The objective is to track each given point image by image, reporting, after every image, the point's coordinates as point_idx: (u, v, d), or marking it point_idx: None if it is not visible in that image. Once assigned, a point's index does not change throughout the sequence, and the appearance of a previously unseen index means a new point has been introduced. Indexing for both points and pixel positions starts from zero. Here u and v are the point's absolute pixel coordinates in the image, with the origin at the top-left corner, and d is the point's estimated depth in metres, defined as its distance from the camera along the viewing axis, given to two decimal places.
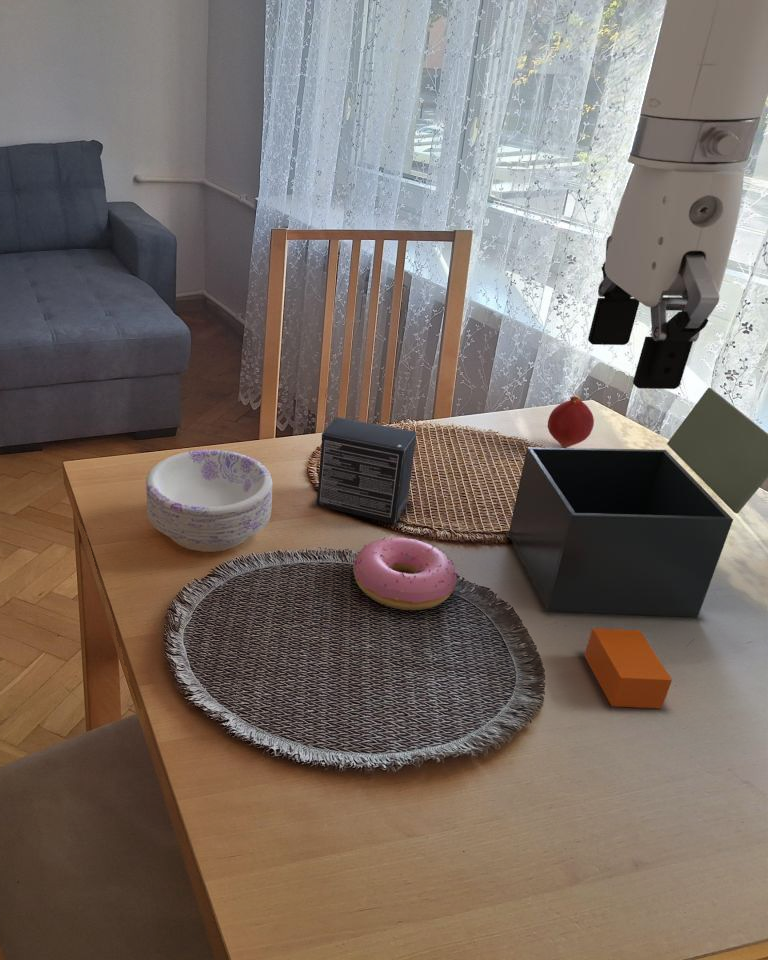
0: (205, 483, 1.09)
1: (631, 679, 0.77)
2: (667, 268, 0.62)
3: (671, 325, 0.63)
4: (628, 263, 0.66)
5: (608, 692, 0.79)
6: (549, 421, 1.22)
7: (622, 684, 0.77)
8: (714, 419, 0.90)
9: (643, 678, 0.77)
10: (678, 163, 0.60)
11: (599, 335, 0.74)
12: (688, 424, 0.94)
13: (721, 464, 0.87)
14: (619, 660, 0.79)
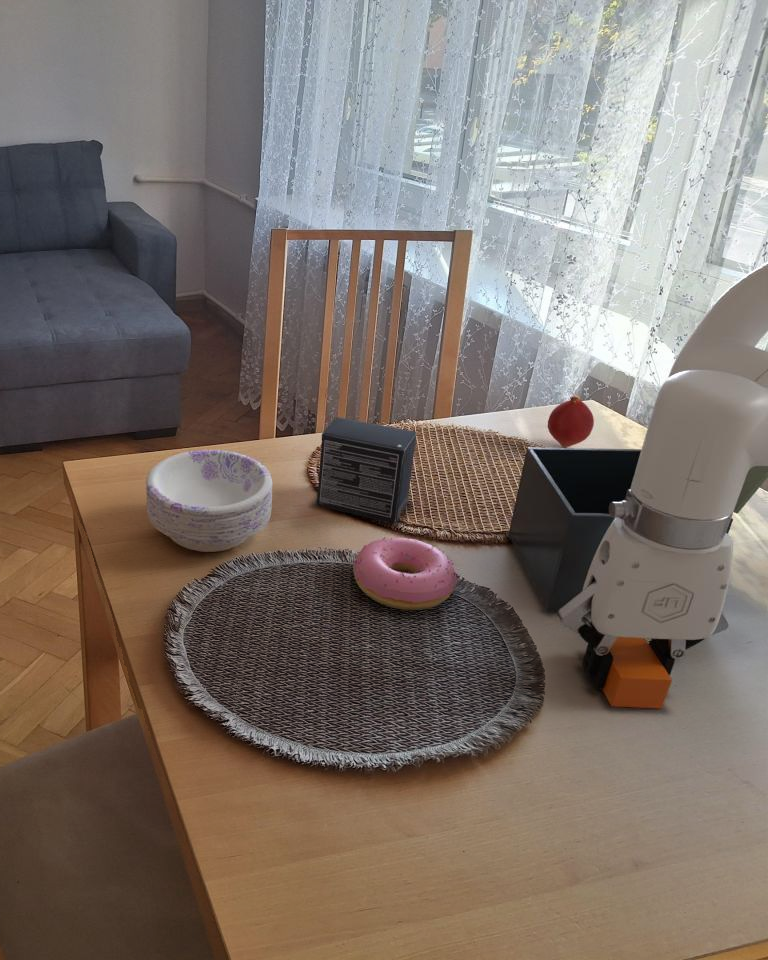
0: (205, 483, 1.09)
1: (631, 679, 0.77)
2: (586, 579, 0.78)
3: None
4: None
5: (608, 692, 0.79)
6: (549, 421, 1.22)
7: (622, 684, 0.77)
8: None
9: (643, 678, 0.77)
10: None
11: None
12: None
13: None
14: (619, 660, 0.79)
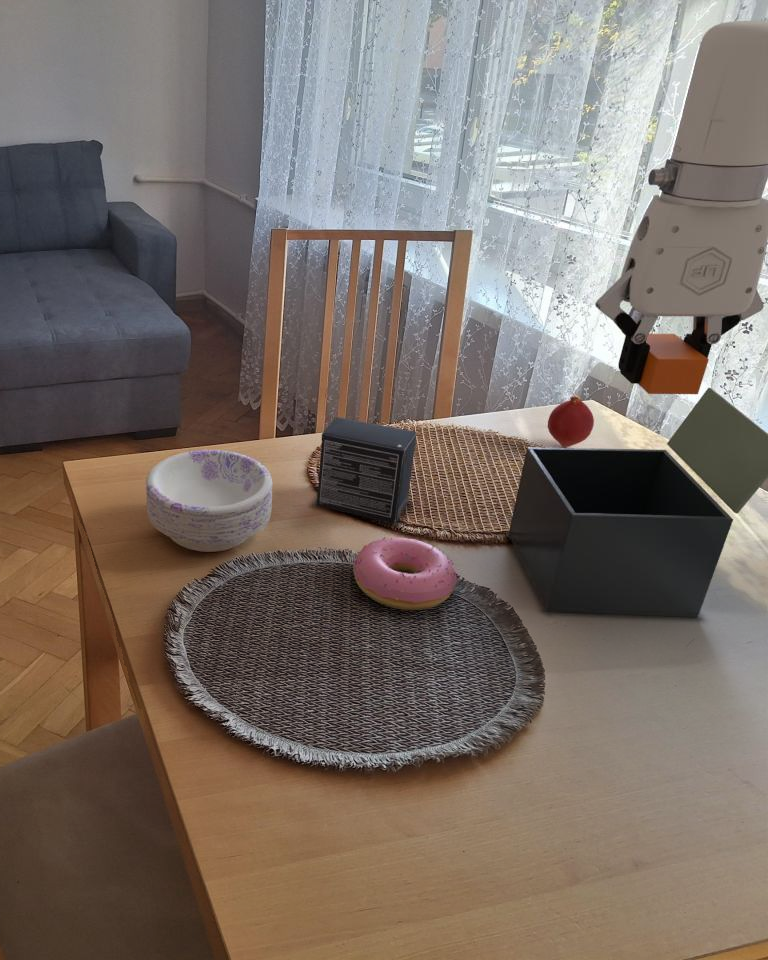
0: (205, 483, 1.09)
1: (668, 361, 0.79)
2: (623, 268, 0.80)
3: None
4: None
5: (645, 382, 0.81)
6: (549, 421, 1.22)
7: (659, 367, 0.79)
8: (714, 419, 0.90)
9: (680, 358, 0.78)
10: None
11: None
12: (688, 424, 0.94)
13: (721, 464, 0.87)
14: (656, 350, 0.81)
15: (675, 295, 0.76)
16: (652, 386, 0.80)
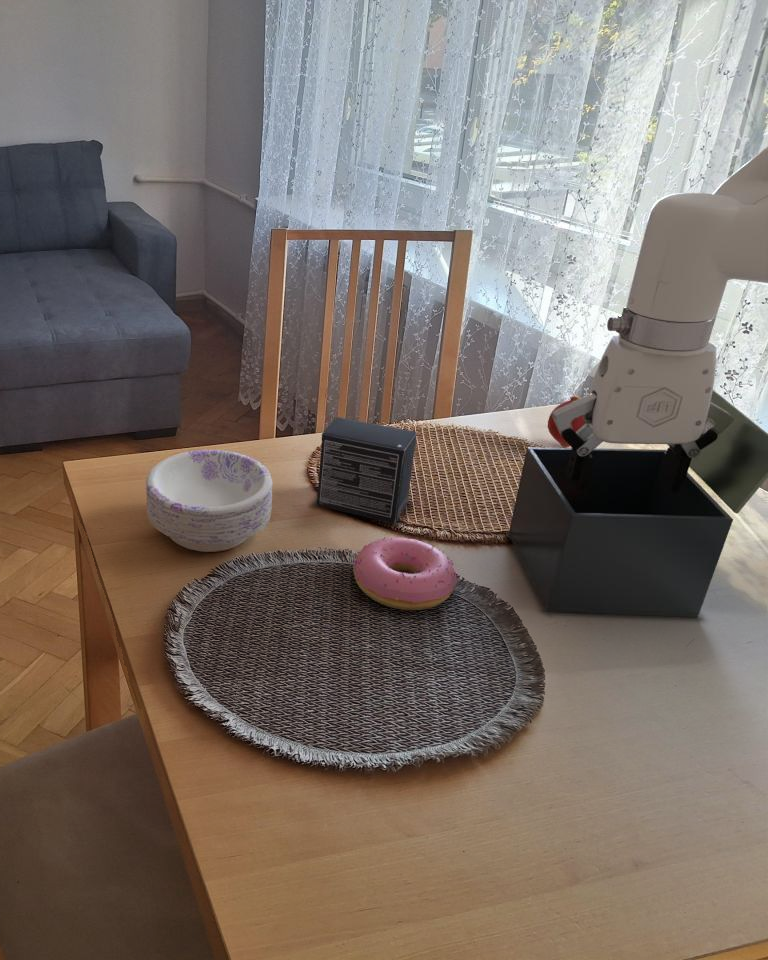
0: (205, 483, 1.09)
1: None
2: None
3: None
4: None
5: None
6: (549, 421, 1.22)
7: None
8: None
9: None
10: None
11: (662, 473, 0.91)
12: None
13: (721, 464, 0.87)
14: None
15: (632, 427, 0.85)
16: None
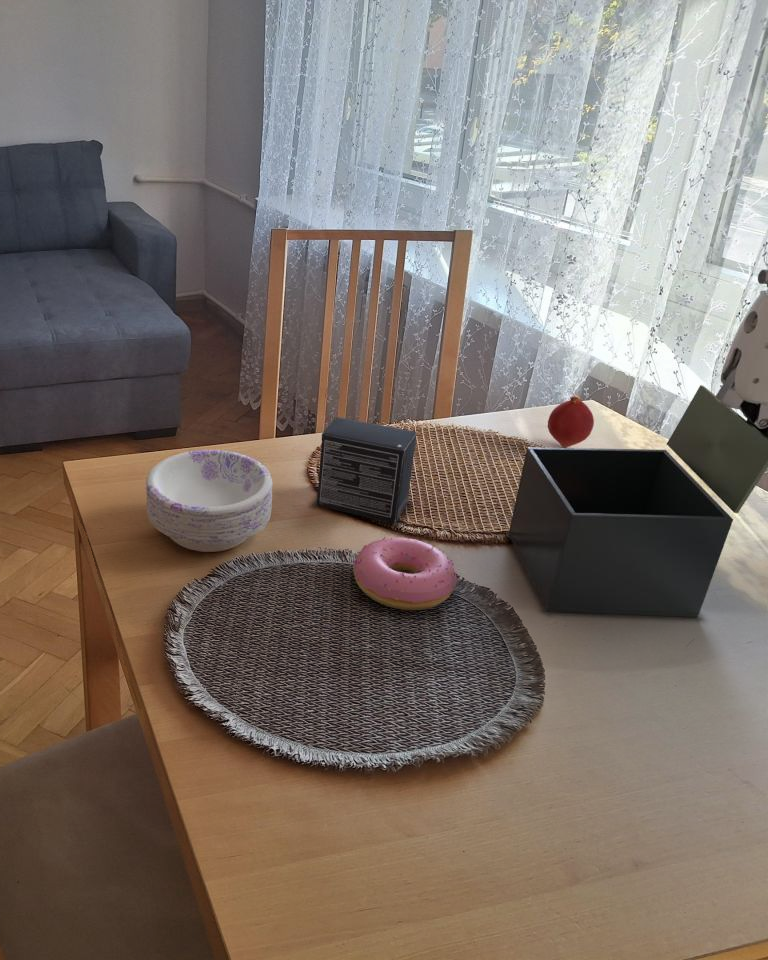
0: (205, 483, 1.09)
1: None
2: (727, 356, 0.85)
3: None
4: None
5: None
6: (549, 421, 1.22)
7: None
8: (708, 418, 0.90)
9: None
10: None
11: None
12: (684, 423, 0.94)
13: (718, 463, 0.87)
14: None
15: None
16: None
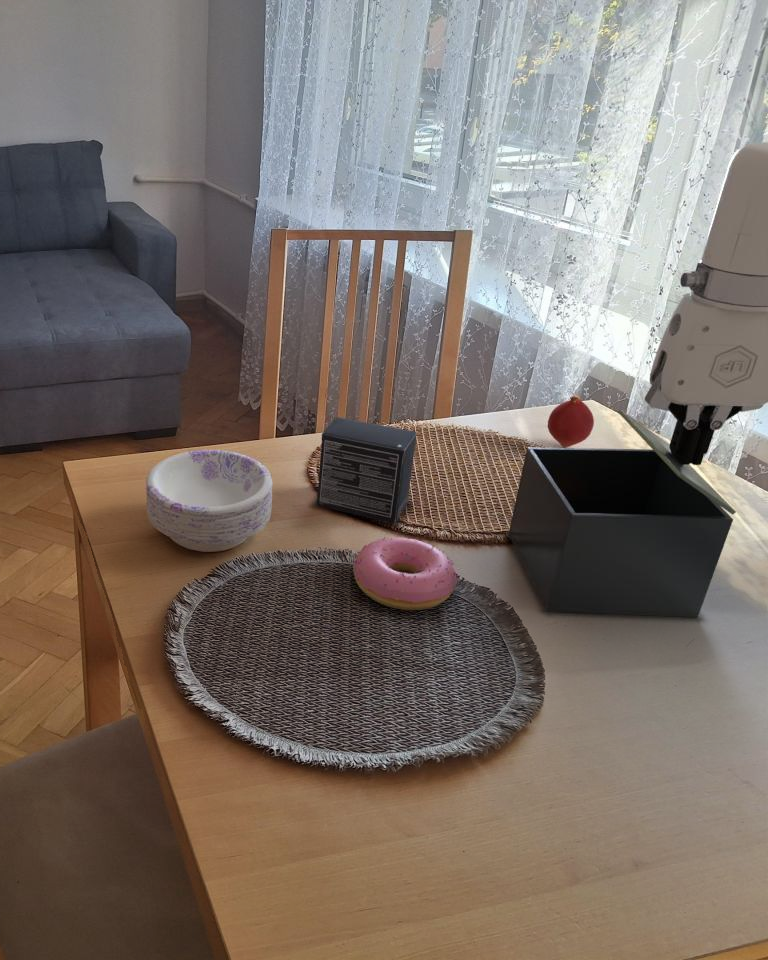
0: (205, 483, 1.09)
1: None
2: (655, 358, 0.86)
3: None
4: None
5: None
6: (549, 421, 1.22)
7: None
8: None
9: None
10: None
11: None
12: None
13: None
14: None
15: (704, 387, 0.82)
16: None
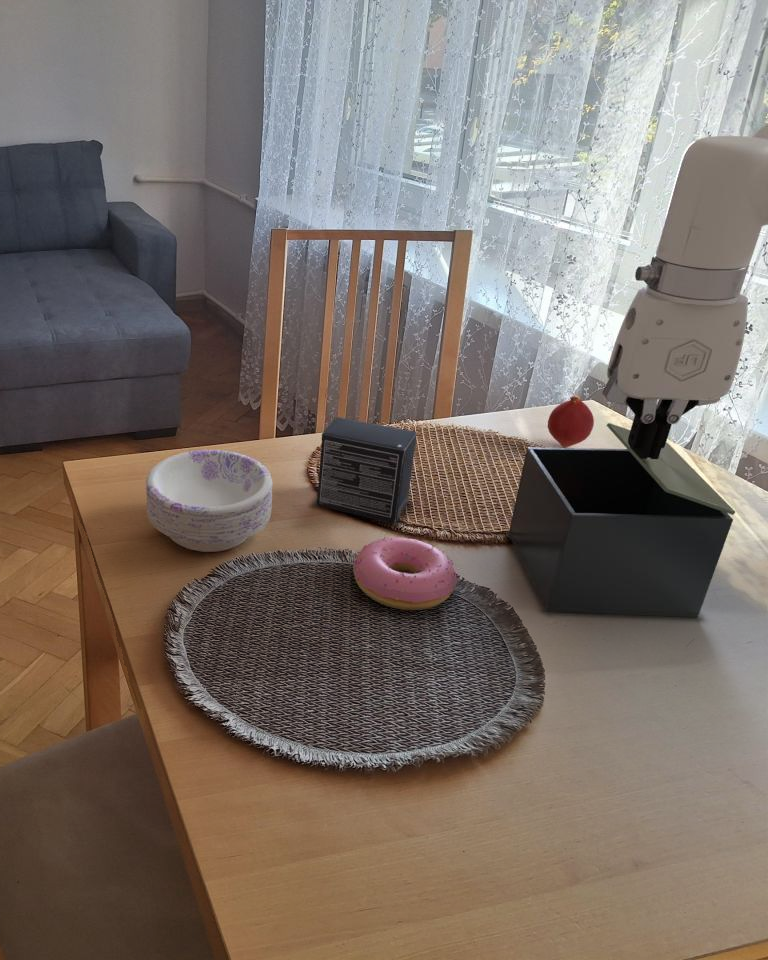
0: (205, 483, 1.09)
1: None
2: (612, 352, 0.86)
3: None
4: None
5: None
6: (549, 421, 1.22)
7: None
8: None
9: None
10: None
11: None
12: None
13: None
14: None
15: (659, 381, 0.82)
16: None
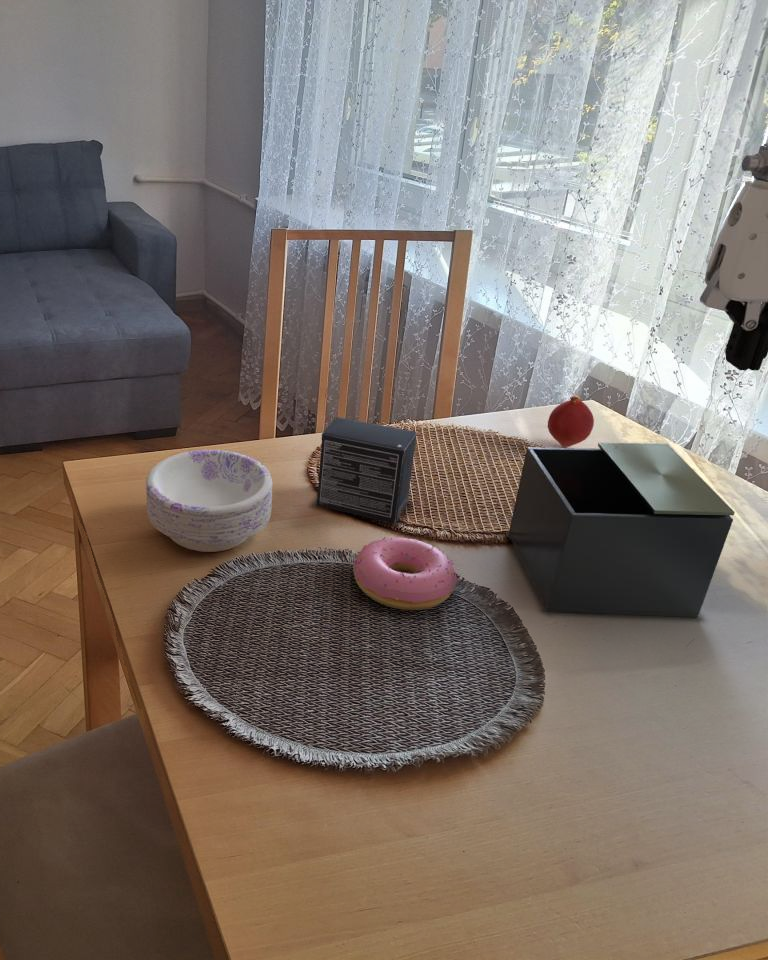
0: (205, 483, 1.09)
1: None
2: (712, 254, 0.80)
3: None
4: None
5: None
6: (549, 421, 1.22)
7: None
8: None
9: None
10: (753, 176, 0.77)
11: None
12: None
13: None
14: None
15: (766, 280, 0.77)
16: None
